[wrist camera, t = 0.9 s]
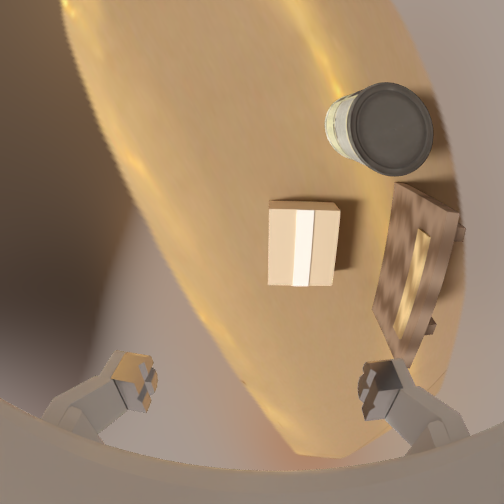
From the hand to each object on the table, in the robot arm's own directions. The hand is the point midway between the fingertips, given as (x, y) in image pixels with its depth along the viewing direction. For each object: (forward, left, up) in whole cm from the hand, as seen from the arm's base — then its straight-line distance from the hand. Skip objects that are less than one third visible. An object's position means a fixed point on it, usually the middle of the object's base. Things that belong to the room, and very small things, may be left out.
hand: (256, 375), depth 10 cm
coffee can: (-9, +13, -36) cm, 40 cm away
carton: (+9, +5, -36) cm, 38 cm away
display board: (+11, +24, -36) cm, 44 cm away
